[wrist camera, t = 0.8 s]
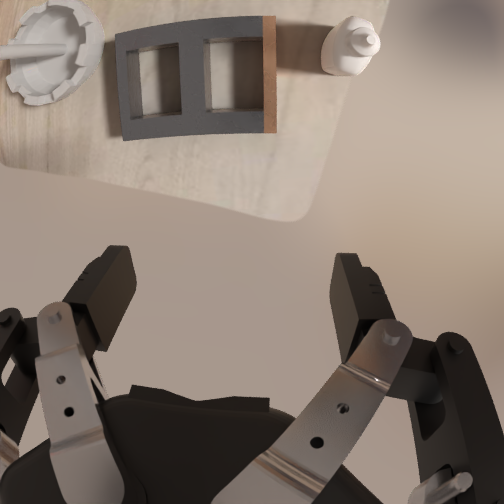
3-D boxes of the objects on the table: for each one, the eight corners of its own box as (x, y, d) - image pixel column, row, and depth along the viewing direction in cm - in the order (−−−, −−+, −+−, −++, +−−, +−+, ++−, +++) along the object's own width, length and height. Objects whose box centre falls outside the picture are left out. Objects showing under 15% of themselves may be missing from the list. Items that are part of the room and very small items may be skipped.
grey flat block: (128, 36, 27) (115, 34, 24) (275, 22, 26) (275, 15, 23) (135, 134, 33) (123, 141, 30) (275, 127, 32) (276, 133, 29)
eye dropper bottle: (304, 53, 28) (322, 40, 18) (340, 21, 26) (374, -3, 15) (333, 81, 29) (365, 85, 19) (369, 50, 27) (415, 42, 17)
